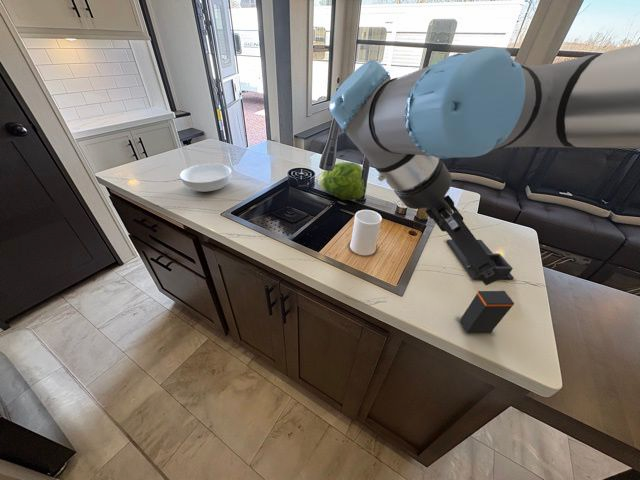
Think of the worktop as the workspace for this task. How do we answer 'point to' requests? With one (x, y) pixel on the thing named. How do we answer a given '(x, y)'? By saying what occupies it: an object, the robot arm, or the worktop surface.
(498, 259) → the base pad
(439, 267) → the worktop surface
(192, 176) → the serving bowl
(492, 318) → the black orange-striped block
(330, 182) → the lettuce
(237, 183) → the worktop surface
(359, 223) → the mug
